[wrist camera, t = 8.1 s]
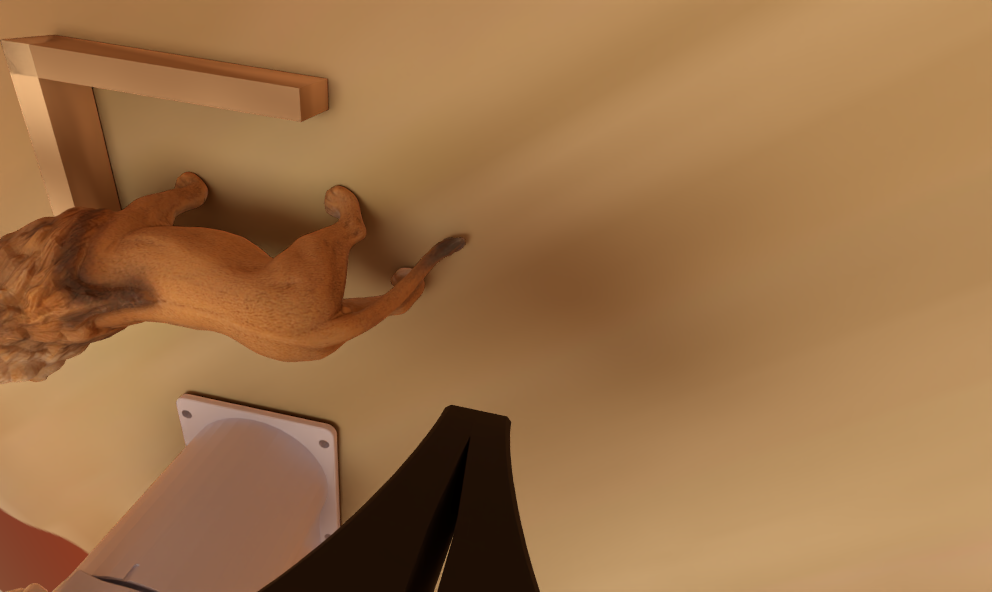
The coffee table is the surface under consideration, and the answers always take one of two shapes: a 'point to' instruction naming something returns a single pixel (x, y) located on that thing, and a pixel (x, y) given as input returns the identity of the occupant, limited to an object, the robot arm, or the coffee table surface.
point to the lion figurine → (185, 282)
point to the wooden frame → (85, 64)
